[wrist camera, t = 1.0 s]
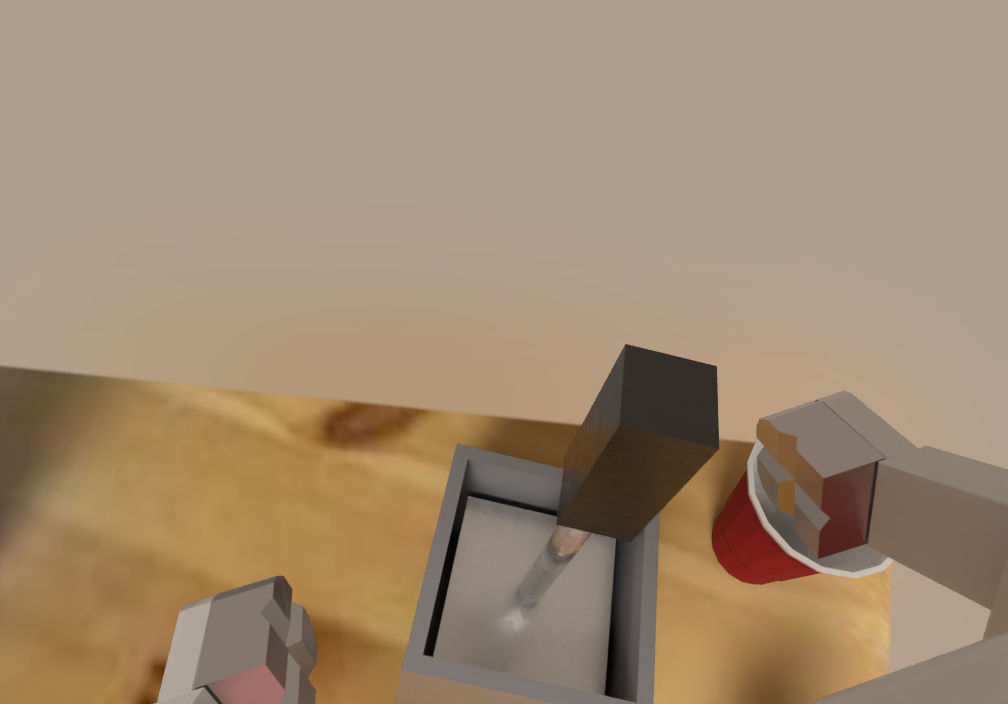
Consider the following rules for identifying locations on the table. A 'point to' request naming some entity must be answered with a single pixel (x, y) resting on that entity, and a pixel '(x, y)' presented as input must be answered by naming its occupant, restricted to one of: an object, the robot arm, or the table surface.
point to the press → (508, 698)
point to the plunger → (578, 528)
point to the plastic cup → (776, 540)
